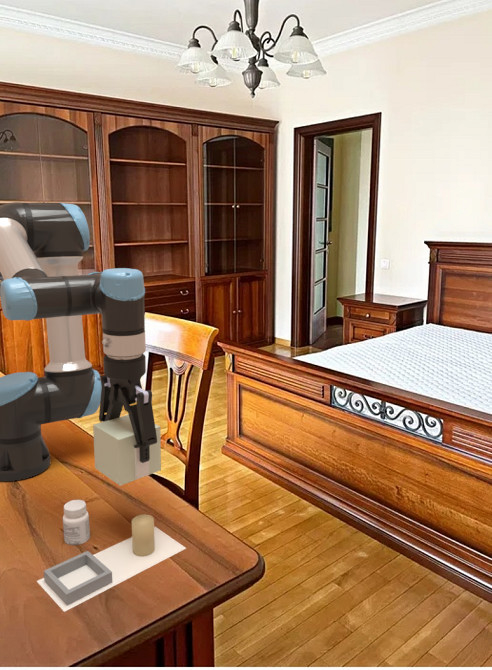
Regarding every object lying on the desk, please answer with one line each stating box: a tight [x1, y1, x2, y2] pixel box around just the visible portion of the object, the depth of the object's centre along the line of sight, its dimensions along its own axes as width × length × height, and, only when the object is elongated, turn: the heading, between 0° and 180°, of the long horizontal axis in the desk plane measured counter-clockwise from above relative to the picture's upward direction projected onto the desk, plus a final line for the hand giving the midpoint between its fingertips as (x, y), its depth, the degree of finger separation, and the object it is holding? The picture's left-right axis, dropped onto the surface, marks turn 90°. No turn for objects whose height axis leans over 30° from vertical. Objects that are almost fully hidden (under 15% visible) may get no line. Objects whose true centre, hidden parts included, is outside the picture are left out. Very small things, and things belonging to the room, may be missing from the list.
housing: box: [92, 414, 162, 487], centre depth 103 cm, size 9×9×9 cm
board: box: [36, 514, 187, 613], centre depth 95 cm, size 10×24×8 cm, turn 134°
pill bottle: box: [62, 499, 91, 546], centre depth 103 cm, size 5×5×8 cm
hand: (127, 466), depth 104 cm, fingers closed on housing, 9 cm apart
